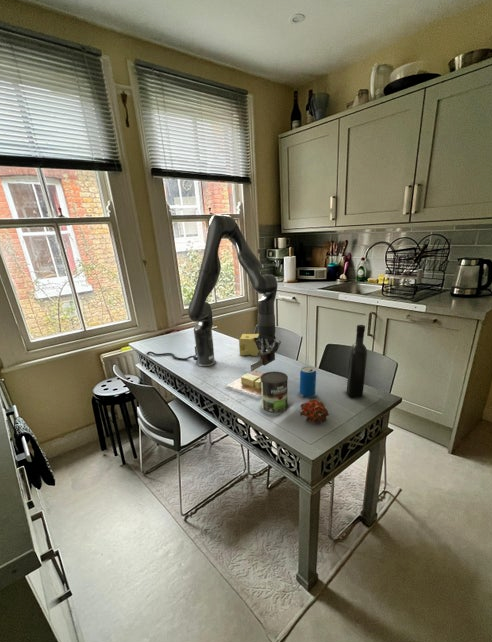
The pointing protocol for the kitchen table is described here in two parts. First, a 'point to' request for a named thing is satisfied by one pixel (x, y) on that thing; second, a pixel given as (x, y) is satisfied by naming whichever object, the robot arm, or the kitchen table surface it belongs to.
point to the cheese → (248, 345)
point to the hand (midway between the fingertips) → (267, 359)
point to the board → (247, 388)
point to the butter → (249, 379)
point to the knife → (262, 360)
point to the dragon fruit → (314, 411)
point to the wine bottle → (357, 365)
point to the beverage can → (307, 382)
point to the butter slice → (258, 383)
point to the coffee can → (274, 392)
